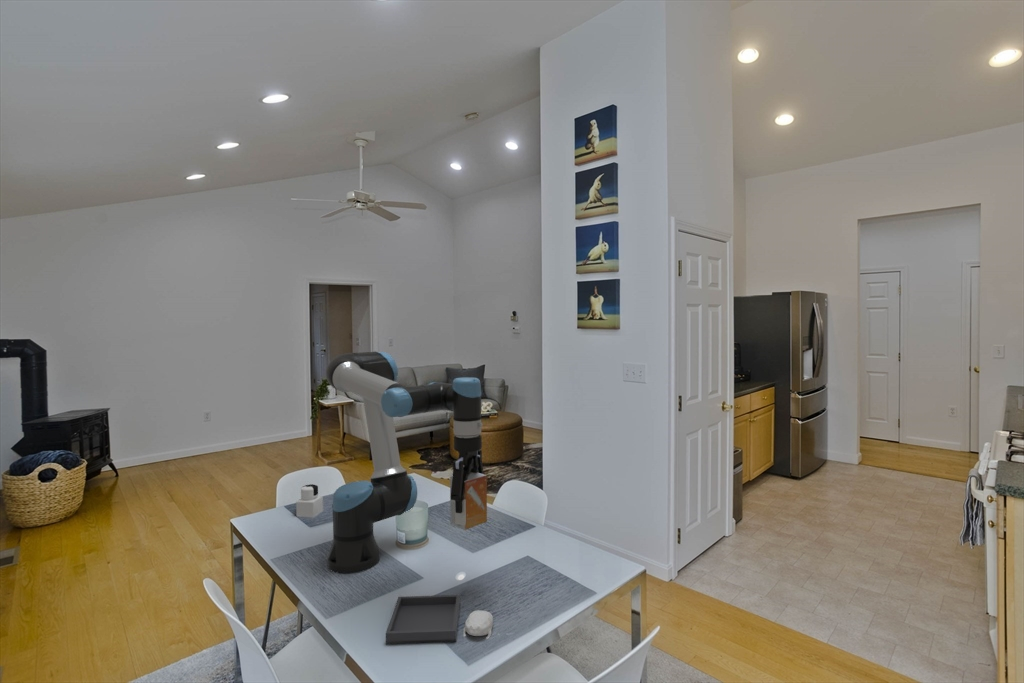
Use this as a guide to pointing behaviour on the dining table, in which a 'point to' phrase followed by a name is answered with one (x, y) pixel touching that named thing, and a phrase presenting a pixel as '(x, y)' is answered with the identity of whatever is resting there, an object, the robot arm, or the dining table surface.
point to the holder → (424, 620)
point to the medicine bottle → (309, 502)
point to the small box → (472, 501)
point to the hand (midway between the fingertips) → (468, 517)
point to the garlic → (479, 624)
